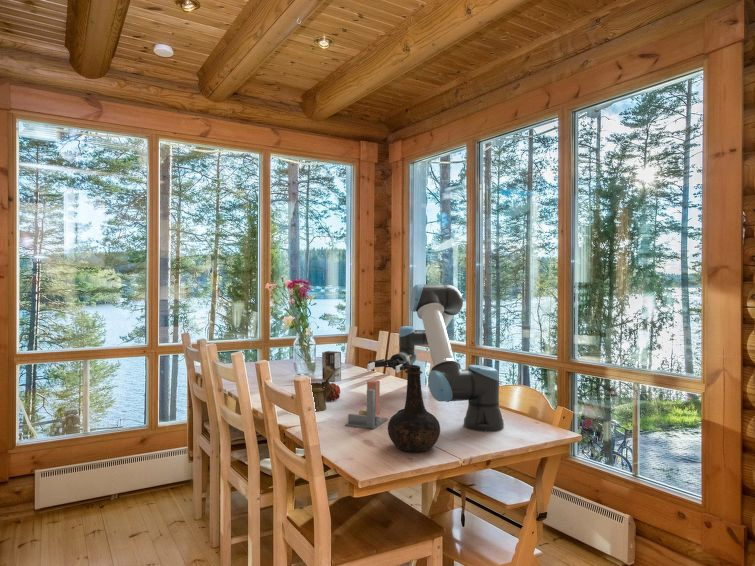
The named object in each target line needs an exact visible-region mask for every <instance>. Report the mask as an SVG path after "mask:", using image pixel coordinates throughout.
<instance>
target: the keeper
mask: <svg viewBox="0 0 755 566" xmlns="http://www.w3.org/2000/svg"><path fill="white" fill-rule="evenodd" d="M347 417H348V422H345V426H346V427H351V428H352V427H354V428H359V427H360V429H367V430H368V429H370V430H375V429H376V428H378V427H379V426H381V425H382V424H384V423H386V422H387V421H388V420H389V419H388V417H383V416H382V417H381V416H376V411H375V389H368V390H367V389H366V409H359V410H358V414H356V413H349V414H348V415H347Z"/></svg>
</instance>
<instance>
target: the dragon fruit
mask: <svg viewBox="0 0 755 566" xmlns="http://www.w3.org/2000/svg"><path fill="white" fill-rule="evenodd" d="M330 385H331V391H330V394H329V395H328V397H327V399H328V401H331V400H333V401H334V400H337V399H338V400H339V399H340V394H341V387H340V386H339V385H336V383H335V382H331V383H330ZM324 389H325V390H323V392H324V393H326V392H327V388H326V387H324ZM327 399H326V400H327Z"/></svg>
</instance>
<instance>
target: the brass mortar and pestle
mask: <svg viewBox="0 0 755 566" xmlns="http://www.w3.org/2000/svg"><path fill="white" fill-rule="evenodd" d="M335 370H336V368H335V369H333V370H332V371H331V373H330V374H329V376H328V377H327V379H326V381H322V382H310V383H311V385H312V392H313V397H314V402H315V409H316V412H322V410H323V411H325V410H326V409H327V403H326V402H327V397H328V395H329V394H330V391H331V385H330V384H331V383H330V381H329V379H330V378H331V377H332V375H333V374H334V372H335ZM324 387H326V388H327V392H326V393H324V392H323V390H325V389H324Z"/></svg>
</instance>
